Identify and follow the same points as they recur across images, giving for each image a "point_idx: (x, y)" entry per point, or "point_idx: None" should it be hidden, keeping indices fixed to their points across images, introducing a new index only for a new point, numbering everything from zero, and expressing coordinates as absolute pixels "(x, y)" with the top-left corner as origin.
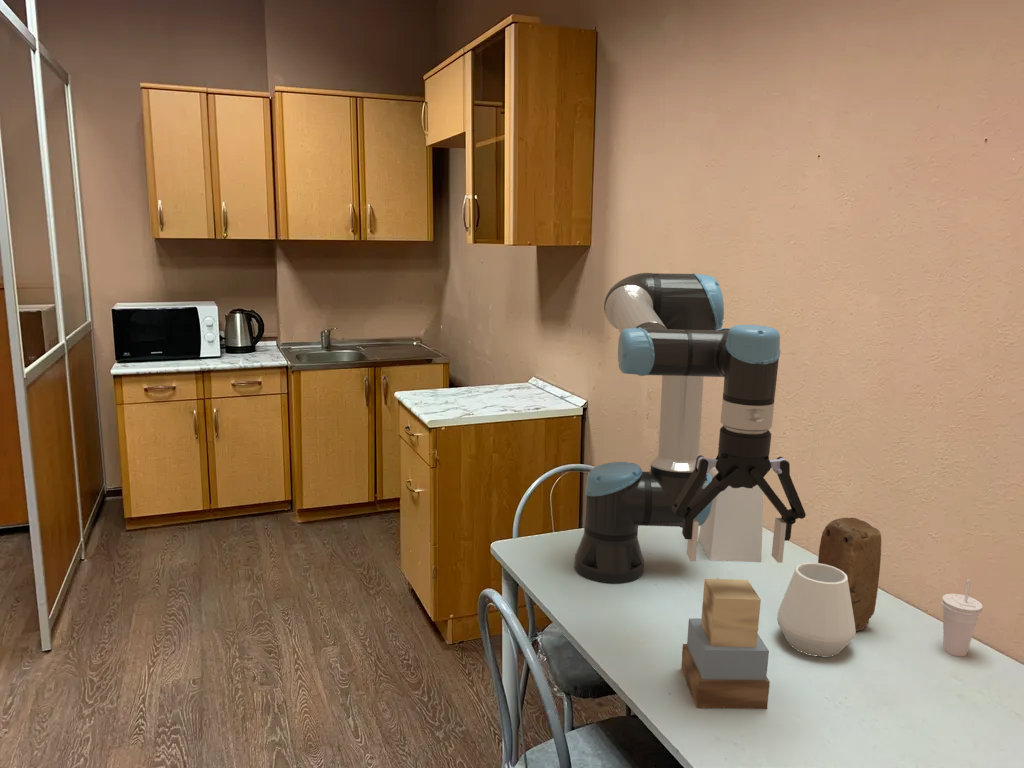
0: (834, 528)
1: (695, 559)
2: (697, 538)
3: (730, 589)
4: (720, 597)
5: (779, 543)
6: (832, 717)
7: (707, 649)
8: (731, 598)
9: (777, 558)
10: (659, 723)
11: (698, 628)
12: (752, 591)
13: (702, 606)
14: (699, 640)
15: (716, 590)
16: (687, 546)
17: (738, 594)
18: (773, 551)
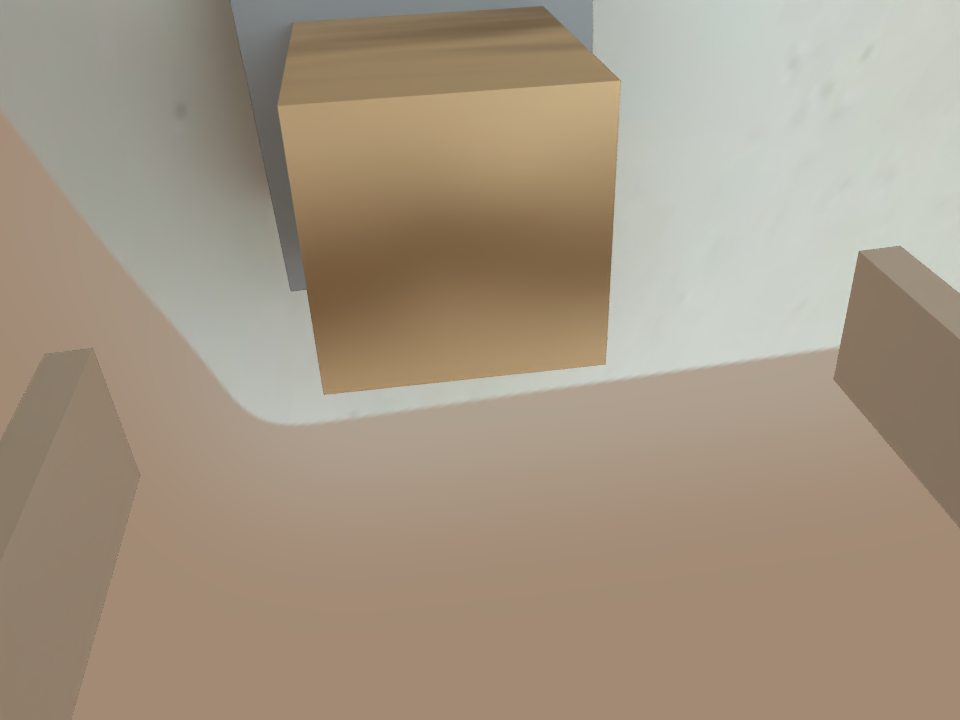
0: None
1: (133, 486)
2: (90, 649)
3: (448, 260)
4: (358, 380)
5: (929, 488)
6: (752, 183)
7: (304, 284)
8: (427, 379)
9: (851, 386)
10: (149, 295)
11: (274, 80)
12: (591, 266)
13: (288, 48)
14: (272, 199)
15: (346, 290)
16: (22, 407)
17: (485, 323)
18: (879, 310)
